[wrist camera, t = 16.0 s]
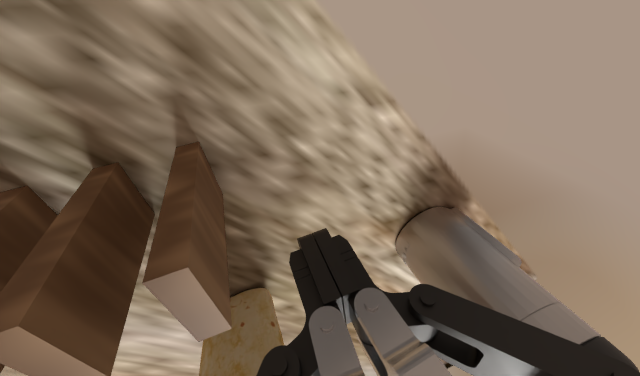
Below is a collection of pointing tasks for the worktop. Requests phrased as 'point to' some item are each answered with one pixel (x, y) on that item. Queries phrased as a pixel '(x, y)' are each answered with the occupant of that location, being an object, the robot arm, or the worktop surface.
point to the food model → (243, 337)
